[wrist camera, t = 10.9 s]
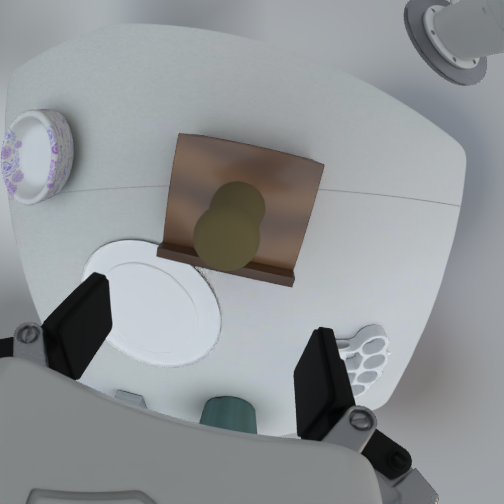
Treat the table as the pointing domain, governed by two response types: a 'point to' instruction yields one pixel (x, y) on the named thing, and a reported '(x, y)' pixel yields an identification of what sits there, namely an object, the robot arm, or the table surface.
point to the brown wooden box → (256, 174)
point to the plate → (156, 305)
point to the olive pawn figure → (230, 227)
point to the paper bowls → (37, 156)
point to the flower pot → (229, 415)
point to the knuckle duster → (365, 357)
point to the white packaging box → (131, 398)
